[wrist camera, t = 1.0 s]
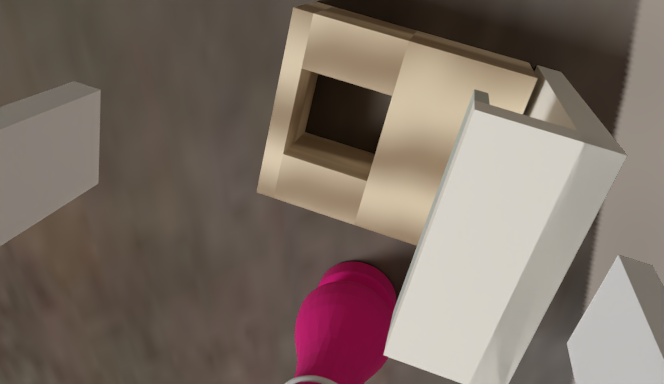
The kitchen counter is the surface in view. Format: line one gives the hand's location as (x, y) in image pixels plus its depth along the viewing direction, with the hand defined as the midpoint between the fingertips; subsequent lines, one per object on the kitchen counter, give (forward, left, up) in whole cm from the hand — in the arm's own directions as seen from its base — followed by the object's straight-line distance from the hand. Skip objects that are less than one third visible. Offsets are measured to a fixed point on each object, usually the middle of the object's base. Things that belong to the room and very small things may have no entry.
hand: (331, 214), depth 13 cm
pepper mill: (+19, +1, -24) cm, 31 cm away
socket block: (+4, 0, -24) cm, 24 cm away
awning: (+4, +6, -24) cm, 25 cm away
